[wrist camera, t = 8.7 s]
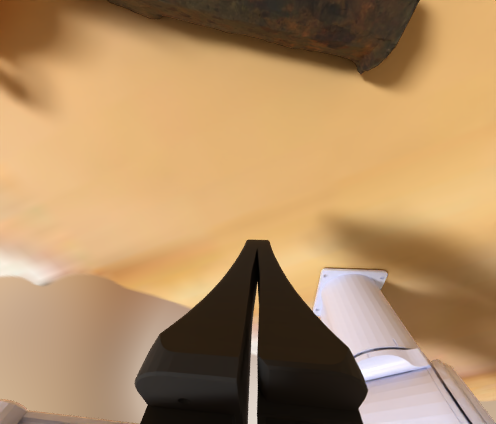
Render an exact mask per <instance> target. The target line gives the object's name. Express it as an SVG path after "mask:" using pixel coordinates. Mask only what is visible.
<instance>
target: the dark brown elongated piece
mask: <svg viewBox="0 0 496 424" xmlns="http://www.w3.org/2000/svg"><path fill="white" fill-rule="evenodd" d="M108 1H109V2H110V3H113V4H116V5H118V6H122V7H125V8H128V9H130V10H131V11H133V12H136V13H138V14H141V15H144V16H146V17H148V18H152V19H160V18H161V17H162V16H167V17H171V18H175V19H179V20H183V21H186V22H190V23H193V24H197V25H201V26H206V27H210V28H215V29H218V30H221V31H224V32H227V33H231V34H242V35H247V36H251V37H254V38H260V39H263V40H265V41H268V42H273V43H276V44H279V45H282V46H286V47H289V48H293V49H305V50H308V51H319V52H323V53H328V54H334V55H337V56H340V57H344V58H348V59H350V60H351V61H353V62H354V63H355V64H356V66H357V70H358V72H359V73H360V74H362V73H363V72H364V71H368V70H370V69H372V68H374V67H376V66H378V65H379V64H380V63H381V62H382V61H383V60H384V59H385V58H387V56H388V55H389V54H390V53H391V51H392V50H393V49H394V48H395V46H396V45H397V43H398V41H399V39H400V37H401V35H402V33H403V32H404V30H405V28H406V26H407V24H408V22H409V20H410V18H411V16H412V14H413V12H414V10H415V8H416V6H417V4H418V3H419V1H420V0H108Z"/></svg>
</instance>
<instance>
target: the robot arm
mask: <svg viewBox="0 0 496 424" xmlns="http://www.w3.org/2000/svg"><path fill="white" fill-rule="evenodd" d="M387 276H388V273H387V272H386V271H384V270H359V269H332V268H324V269H322V271H321V275H320V280H319V284H318V289H317V294H316V298H315V303H314V307H313V311H312V310H311V309H310V308H309V307H308V305H307V304H306V303H305V302H304V301H303V300H302V298H301V297H300V296H299V295H298V293H297V292H296V291H295V289H294V288H293V286H292V285H291V284H290V282H289V281H288V279H287V278H286V276H285V274H284V273H283V271H282V269H281V267H280V266H279V264H278V262H277V260H276V258H275V256H274V253H273V251H272V248H271V245H270V242H269V241H268V240H247V241H246V243H245V246H244V248H243V249H242V251H241V253H240V255H239V256H238V258H237V259H236V261H235V263H234V264H233V265H232V267H231V268H230V269H229V271H228V272H227V274H226V275H225V276H224V277H223V279H222V280H221V281H220V282H219V283H218V284H217V285H216V287H215V288H214V289H213V290H212V291H211V292H210V293H209V294H208V295H207V296H206V297H205V298H204V299H203V300H202V301H201V302H199V303H198V304H197V305H196V306H195V307H194V308H192V309H191V310H190V311H189V312H188V313H187V314H186V315H184V316H183V317H182V318H180V319H179V320H178V321H177V322H175V323H174V324H173V325H171V326H170V327H169V328H167V329H166V330H165V331H163V332H162V333H160V335H159V336H158V338H157V339H156V341H155V343H154V344H153V346H152V348H151V349H150V351H149V353H148V355H147V357H146V359H145V361H144V363H143V365H142V367H141V369H140V371H139V373H138V375H137V377H136V379H135V387H136V389H137V391H138V392H139V394H140V395H141V396H142V397H143V399H144V400H145V402H146V403H147V404H148V406H147V408H146V411H145V413H144V416H143V418H142V421H141V423H140V424H248V401H249V376H250V355H251V334H252V319H253V311H254V304H255V296H256V289H257V281H258V296H259V329H258V355H257V356H258V401H257V424H496V423H495V422H494V421H493V419H492V418H491V417H490V415H489V414H488V413H487V411H486V410H485V409H484V407H483V406H482V405H481V404H480V402H479V401H478V400H477V398H476V397H475V396H474V394H473V393H472V392H471V390H470V389H469V388H468V387H467V385H466V384H465V383H464V381H463V380H462V379H461V377H460V376H459V375H458V374H457V372H456V371H455V370H454V368H453V367H451V366H449V365H447V364H445V363H442V362H441V361H440V360H439V359H436V360H433V361H431V362H432V363H431V362H430V360H429V359H428V358H427V357H426V356H425V355H424V353H423V352H422V351H421V349H420V348H419V346H418V345H417V343H416V342H415V340H414V339H413V337H412V336H411V334H410V333H409V332H408V330H407V329H406V327H405V326H404V324H403V323H402V321H401V320H400V318H399V317H398V315H397V314H396V312H395V311H394V310H393V308H392V307H391V305H390V304H389V302H388V301H387V299H386V298H385V296H384V295H383V293H382V292H381V289H382V287H383V284H384V282H385V280H386V278H387ZM317 316H320V318H321V320H320V319H319V318H318V317H317ZM0 424H137V423H129V422H121V421H112V420H104V419H95V418H87V417H78V416H70V415H61V414H53V413H45V412H36V411H28V410H27V408H26V407H24V406H23V405H21V404H19V403H17V402H14V401H11V400H5V399H0Z"/></svg>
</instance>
